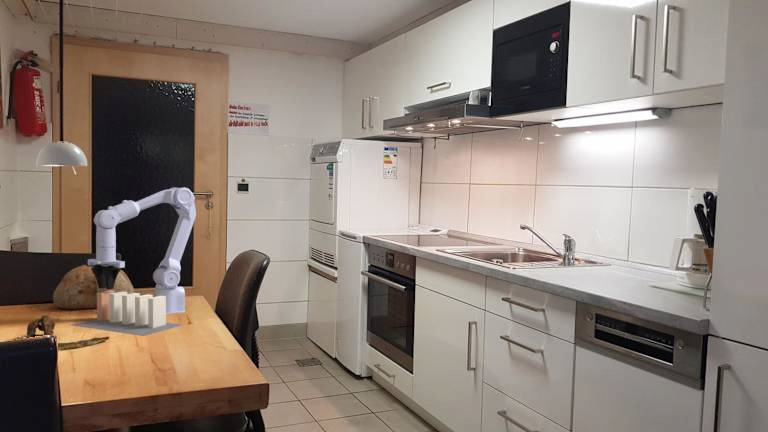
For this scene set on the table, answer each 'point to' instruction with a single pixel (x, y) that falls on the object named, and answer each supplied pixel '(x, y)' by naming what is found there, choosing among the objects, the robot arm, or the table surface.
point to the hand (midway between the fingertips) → (106, 288)
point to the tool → (48, 330)
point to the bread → (85, 288)
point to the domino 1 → (103, 305)
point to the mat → (124, 327)
